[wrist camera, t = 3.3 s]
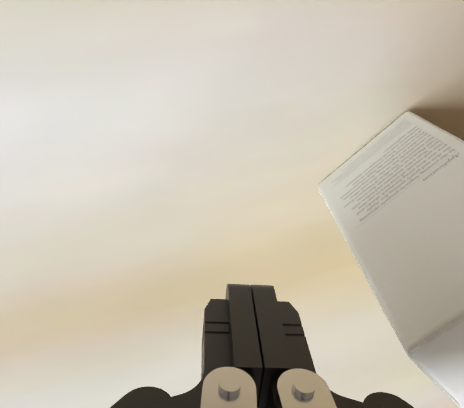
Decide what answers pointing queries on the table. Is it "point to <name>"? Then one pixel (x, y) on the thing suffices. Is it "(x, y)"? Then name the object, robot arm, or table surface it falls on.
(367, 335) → the table surface
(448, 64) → the table surface
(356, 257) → the small box
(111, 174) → the table surface
